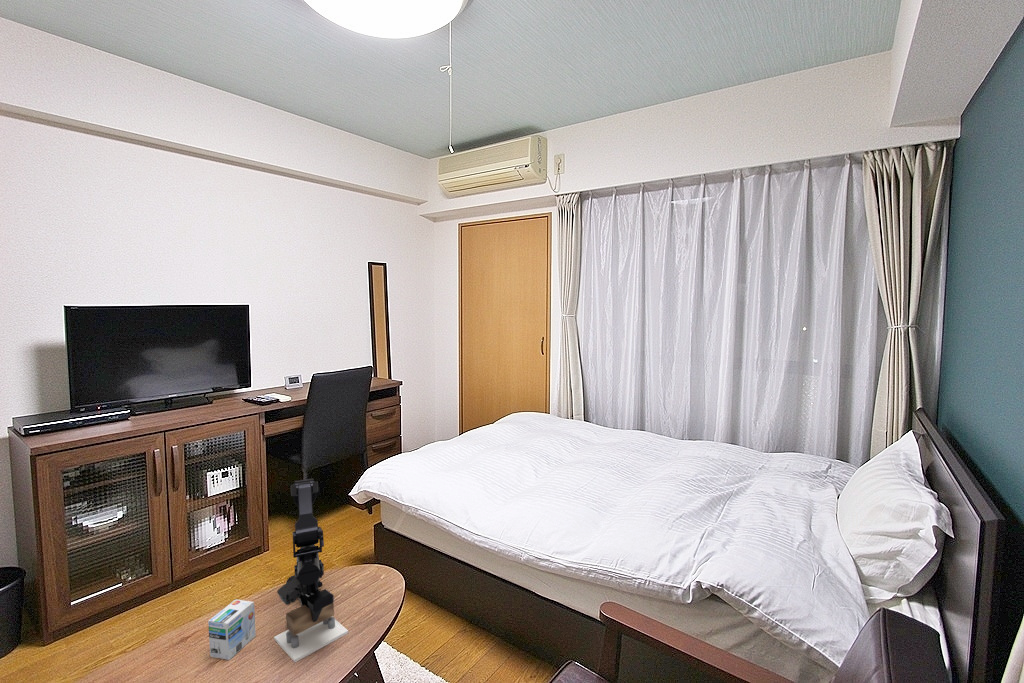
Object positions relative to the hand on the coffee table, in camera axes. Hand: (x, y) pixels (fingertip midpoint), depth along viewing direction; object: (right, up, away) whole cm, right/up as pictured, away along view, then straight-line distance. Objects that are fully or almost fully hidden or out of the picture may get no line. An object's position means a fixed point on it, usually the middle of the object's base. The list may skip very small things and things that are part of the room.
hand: (310, 617), depth 143 cm
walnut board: (0, -1, 0) cm, 1 cm away
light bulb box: (-21, -7, -3) cm, 22 cm away
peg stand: (0, -6, 0) cm, 6 cm away
